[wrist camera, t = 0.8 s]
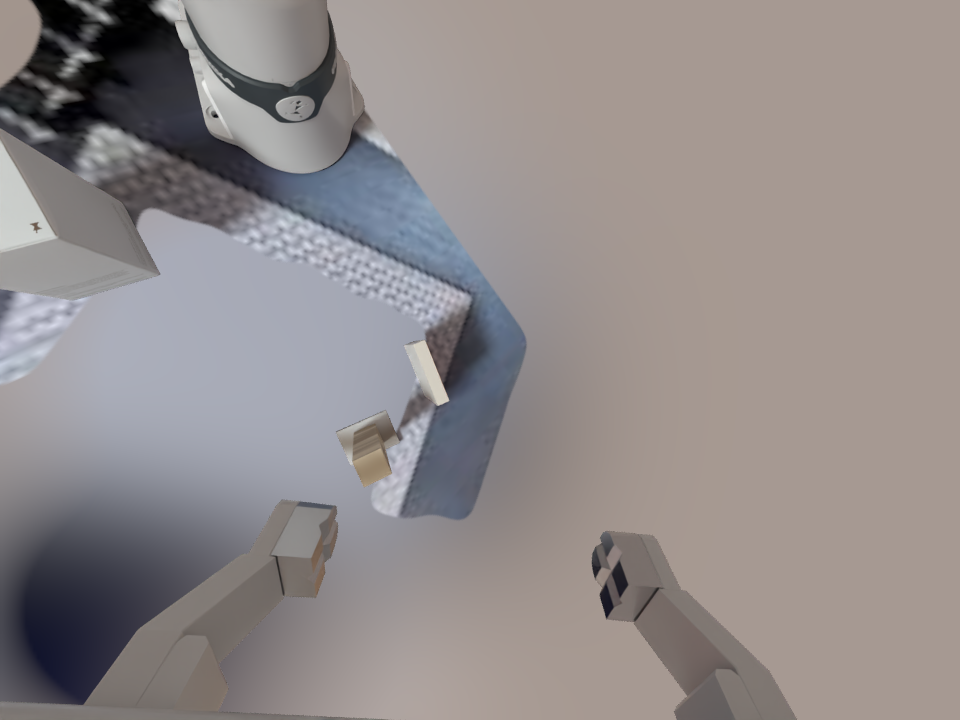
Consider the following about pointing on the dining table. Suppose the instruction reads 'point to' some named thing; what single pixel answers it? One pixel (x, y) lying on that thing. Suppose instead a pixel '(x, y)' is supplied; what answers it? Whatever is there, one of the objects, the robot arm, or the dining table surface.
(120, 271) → the supplement box
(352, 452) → the wooden post on base
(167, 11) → the dining table surface
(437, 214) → the dining table surface
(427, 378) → the tile
